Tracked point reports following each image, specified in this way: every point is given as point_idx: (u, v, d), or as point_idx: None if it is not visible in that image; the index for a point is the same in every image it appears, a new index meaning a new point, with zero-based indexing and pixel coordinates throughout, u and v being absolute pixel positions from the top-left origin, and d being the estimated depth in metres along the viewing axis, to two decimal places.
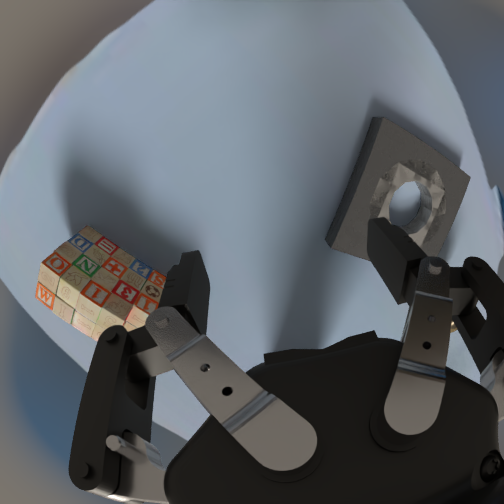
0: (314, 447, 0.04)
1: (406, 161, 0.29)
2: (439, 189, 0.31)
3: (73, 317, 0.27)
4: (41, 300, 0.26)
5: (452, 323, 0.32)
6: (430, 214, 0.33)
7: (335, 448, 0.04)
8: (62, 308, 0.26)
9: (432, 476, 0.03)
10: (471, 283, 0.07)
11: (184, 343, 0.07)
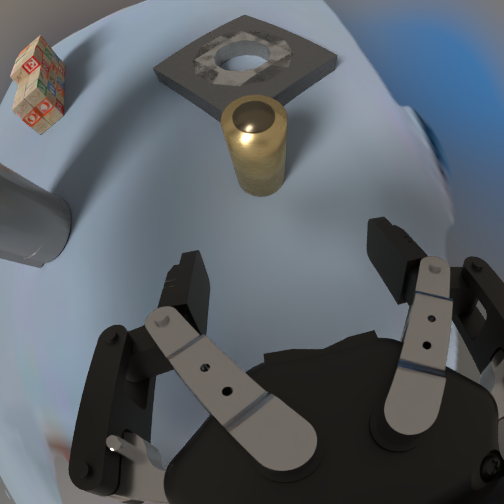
0: (314, 447, 0.04)
1: (251, 31, 0.30)
2: (283, 50, 0.29)
3: (20, 59, 0.26)
4: (19, 54, 0.27)
5: (238, 114, 0.19)
6: (265, 63, 0.29)
7: (335, 448, 0.04)
8: (22, 54, 0.26)
9: (432, 476, 0.03)
10: (471, 283, 0.07)
11: (184, 343, 0.07)
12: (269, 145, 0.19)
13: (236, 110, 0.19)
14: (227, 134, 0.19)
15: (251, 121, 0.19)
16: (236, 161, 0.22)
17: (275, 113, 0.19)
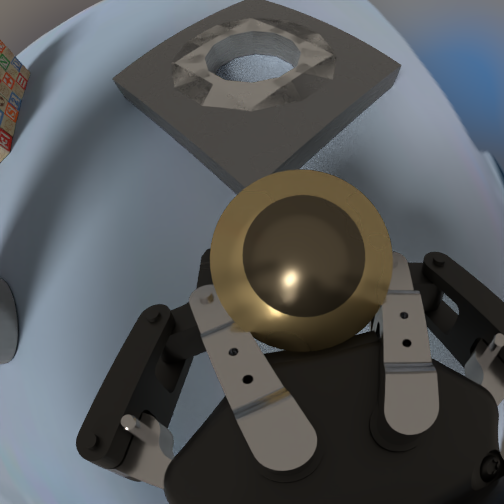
0: (310, 455, 0.04)
1: (265, 18, 0.19)
2: (320, 49, 0.17)
3: None
4: None
5: (259, 245, 0.07)
6: (293, 70, 0.17)
7: (335, 448, 0.04)
8: None
9: (432, 476, 0.03)
10: (430, 279, 0.08)
11: None
12: None
13: (253, 228, 0.07)
14: (231, 313, 0.07)
15: (300, 275, 0.07)
16: None
17: (364, 243, 0.07)
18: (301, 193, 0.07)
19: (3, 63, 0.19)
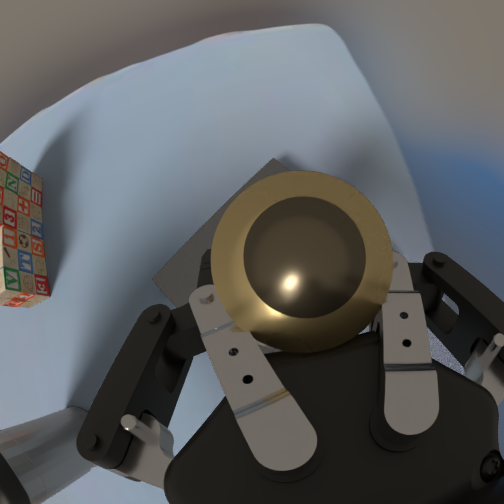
0: (310, 455, 0.04)
1: None
2: None
3: None
4: None
5: (260, 246, 0.07)
6: None
7: (335, 448, 0.04)
8: None
9: (432, 476, 0.03)
10: (430, 279, 0.08)
11: None
12: None
13: (254, 229, 0.07)
14: (231, 314, 0.07)
15: (301, 277, 0.07)
16: None
17: (364, 244, 0.07)
18: (302, 194, 0.08)
19: (12, 185, 0.28)
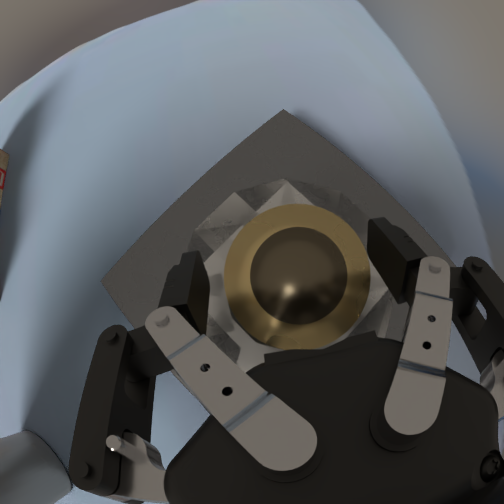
0: (314, 447, 0.04)
1: (305, 183, 0.17)
2: None
3: None
4: None
5: (263, 268, 0.09)
6: None
7: (335, 448, 0.04)
8: None
9: (432, 476, 0.03)
10: (471, 283, 0.07)
11: (184, 343, 0.07)
12: None
13: (258, 254, 0.09)
14: (241, 321, 0.09)
15: (295, 292, 0.09)
16: None
17: (347, 265, 0.09)
18: (297, 224, 0.09)
19: None
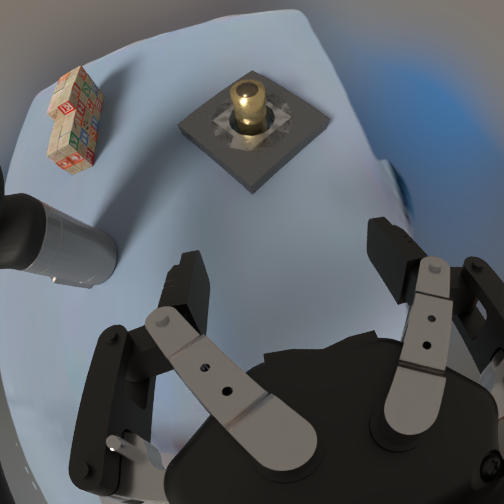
0: (314, 447, 0.04)
1: None
2: (285, 114, 0.41)
3: (58, 91, 0.38)
4: (59, 80, 0.39)
5: (239, 88, 0.34)
6: None
7: (335, 448, 0.04)
8: (60, 85, 0.38)
9: (432, 476, 0.03)
10: (471, 283, 0.07)
11: (184, 343, 0.07)
12: (255, 103, 0.35)
13: (238, 87, 0.35)
14: (233, 98, 0.34)
15: (246, 91, 0.34)
16: (238, 115, 0.38)
17: (258, 88, 0.34)
18: None
19: (86, 90, 0.42)
